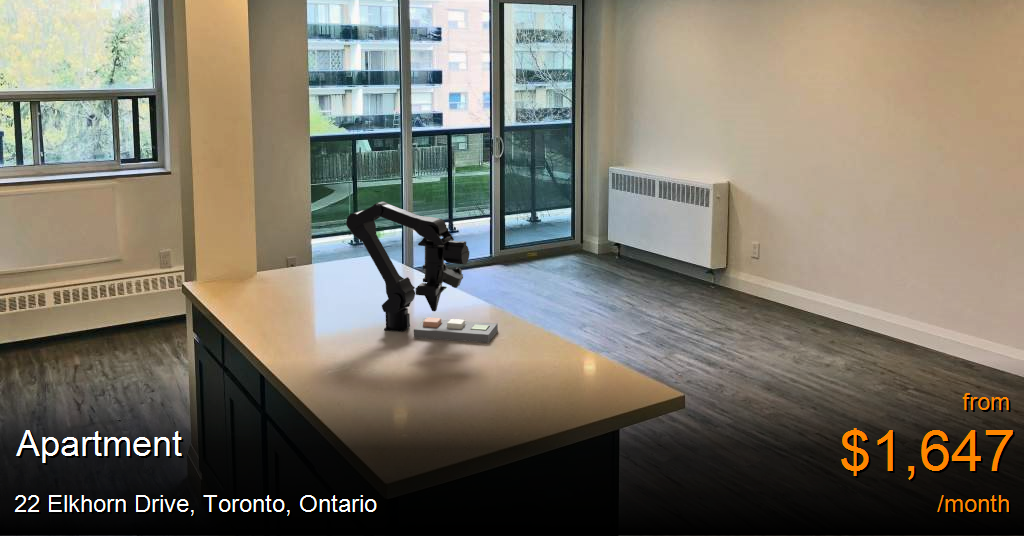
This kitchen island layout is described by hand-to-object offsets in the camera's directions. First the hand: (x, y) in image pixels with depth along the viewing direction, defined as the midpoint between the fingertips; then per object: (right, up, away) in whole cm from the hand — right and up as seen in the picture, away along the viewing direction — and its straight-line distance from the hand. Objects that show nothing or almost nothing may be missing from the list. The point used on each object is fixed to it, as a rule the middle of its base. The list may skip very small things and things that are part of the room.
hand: (434, 311), depth 287 cm
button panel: (+7, -7, 0) cm, 10 cm away
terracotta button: (-1, -5, +1) cm, 5 cm away
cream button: (+7, -6, 0) cm, 9 cm away
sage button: (+14, -7, -2) cm, 16 cm away
